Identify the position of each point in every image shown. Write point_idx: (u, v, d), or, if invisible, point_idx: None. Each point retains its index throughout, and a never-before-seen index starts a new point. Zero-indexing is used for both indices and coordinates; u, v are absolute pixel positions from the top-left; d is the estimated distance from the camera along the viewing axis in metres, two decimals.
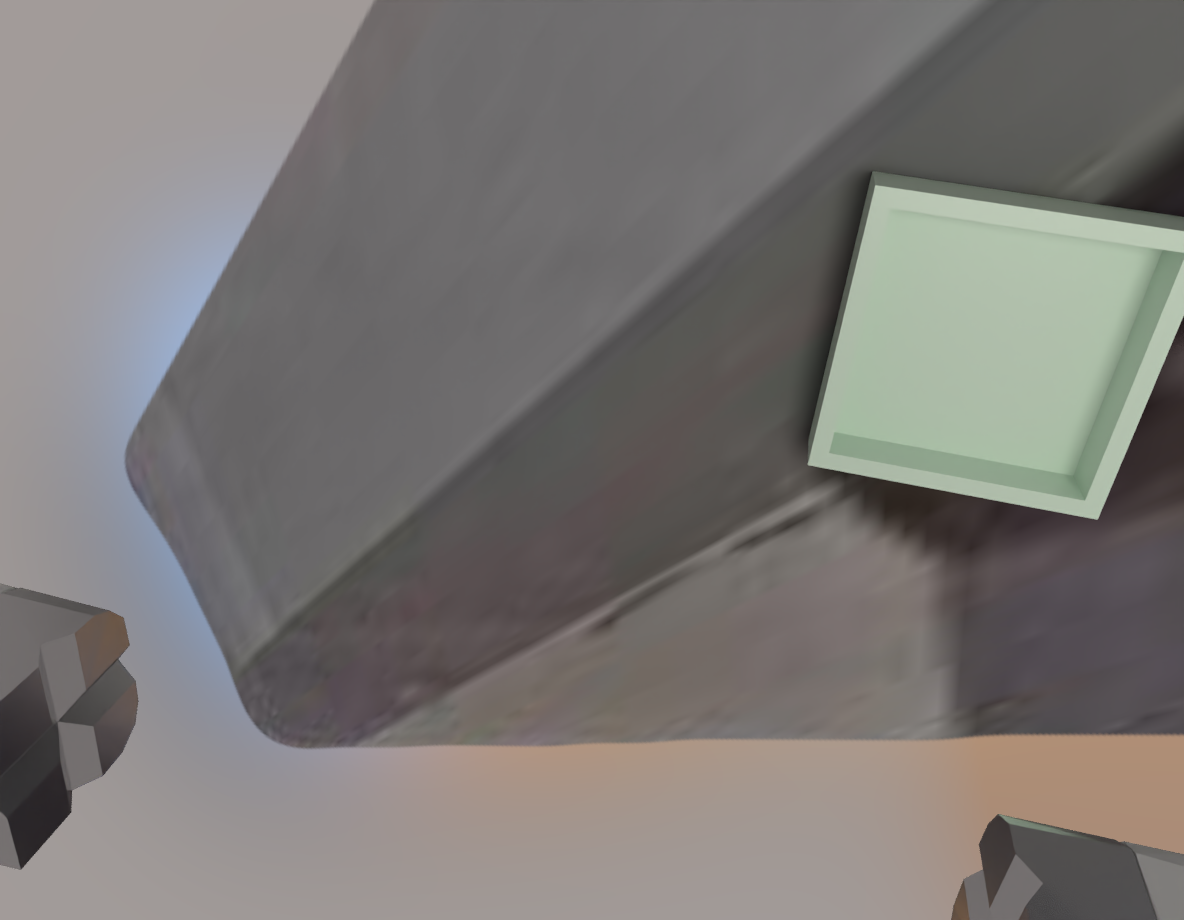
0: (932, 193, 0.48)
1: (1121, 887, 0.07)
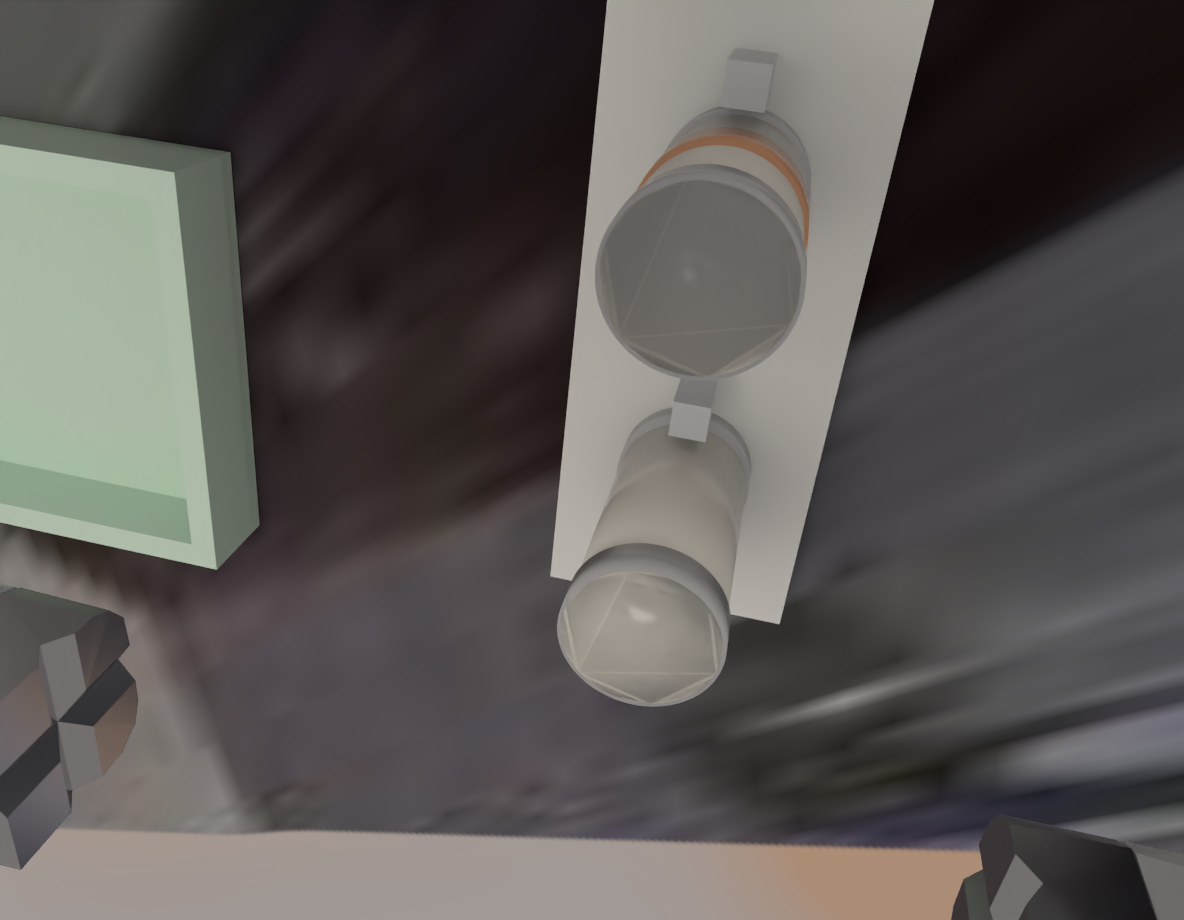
0: None
1: (1121, 887, 0.07)
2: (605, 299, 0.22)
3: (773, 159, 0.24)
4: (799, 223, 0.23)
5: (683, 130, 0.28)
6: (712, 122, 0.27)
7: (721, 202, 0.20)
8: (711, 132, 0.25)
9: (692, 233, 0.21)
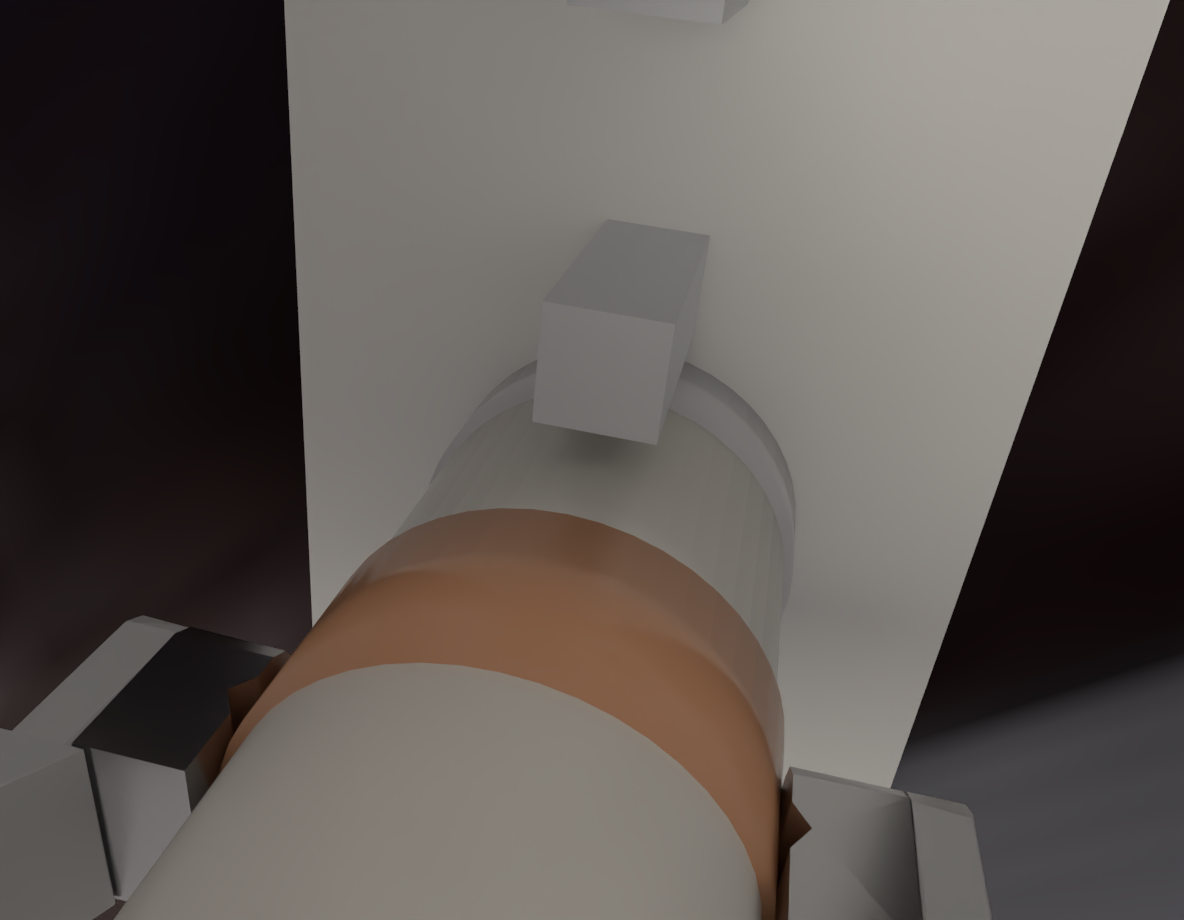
0: None
1: (889, 833, 0.08)
2: None
3: (650, 719, 0.07)
4: None
5: (477, 419, 0.11)
6: (529, 435, 0.10)
7: None
8: (474, 551, 0.08)
9: None
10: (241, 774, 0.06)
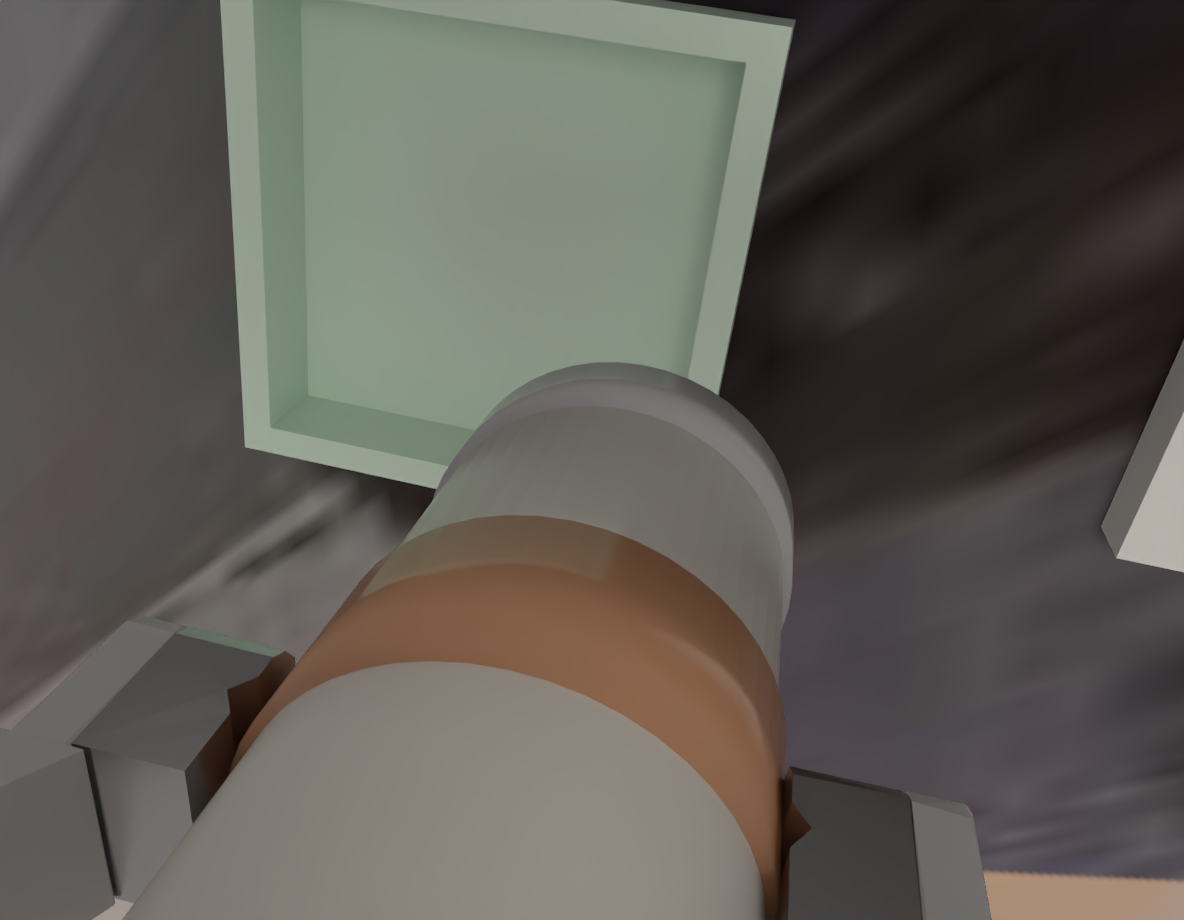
0: None
1: (888, 832, 0.08)
2: None
3: (656, 717, 0.07)
4: None
5: (481, 433, 0.12)
6: (533, 447, 0.10)
7: None
8: (482, 556, 0.08)
9: None
10: (254, 770, 0.07)
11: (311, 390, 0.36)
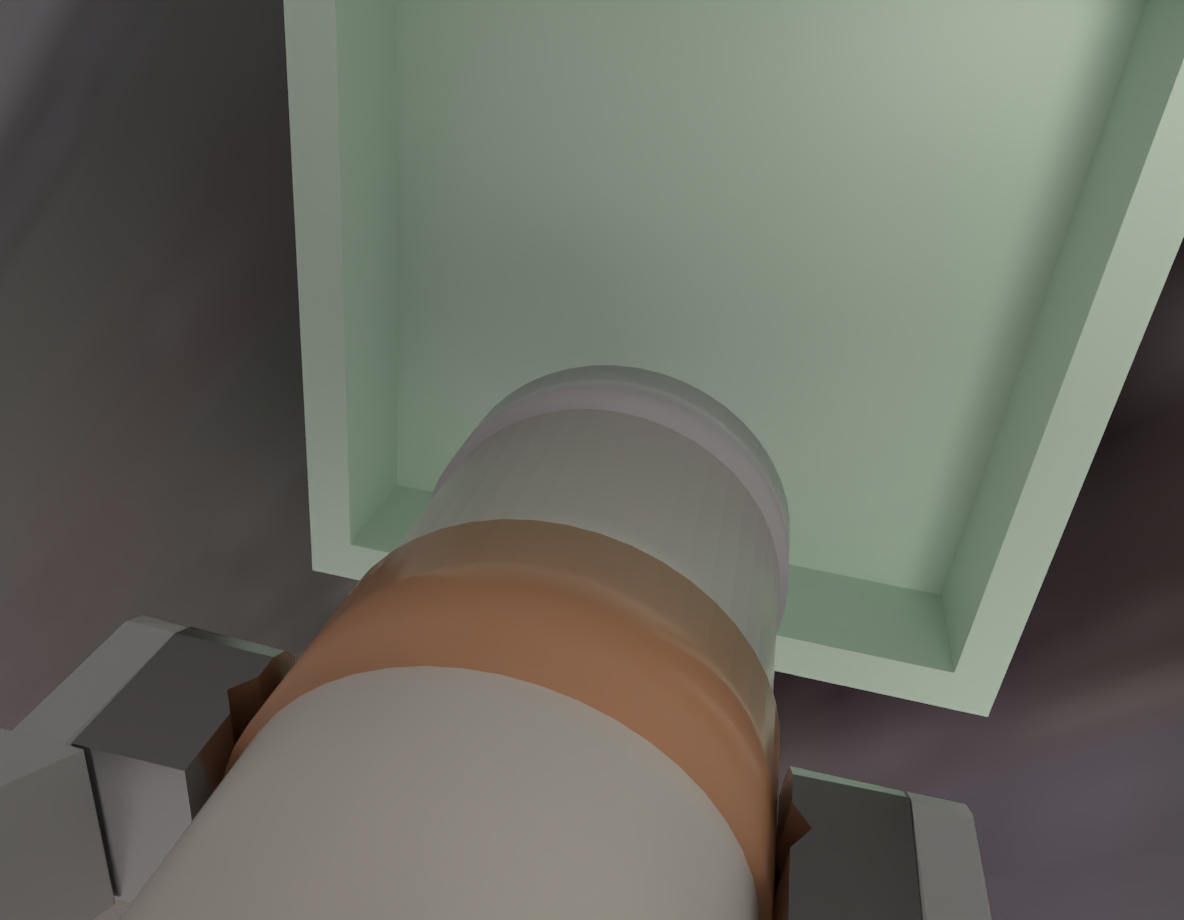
0: None
1: (889, 832, 0.08)
2: None
3: (649, 721, 0.07)
4: None
5: (478, 437, 0.12)
6: (528, 450, 0.10)
7: None
8: (476, 560, 0.08)
9: None
10: (247, 775, 0.07)
11: (401, 478, 0.25)
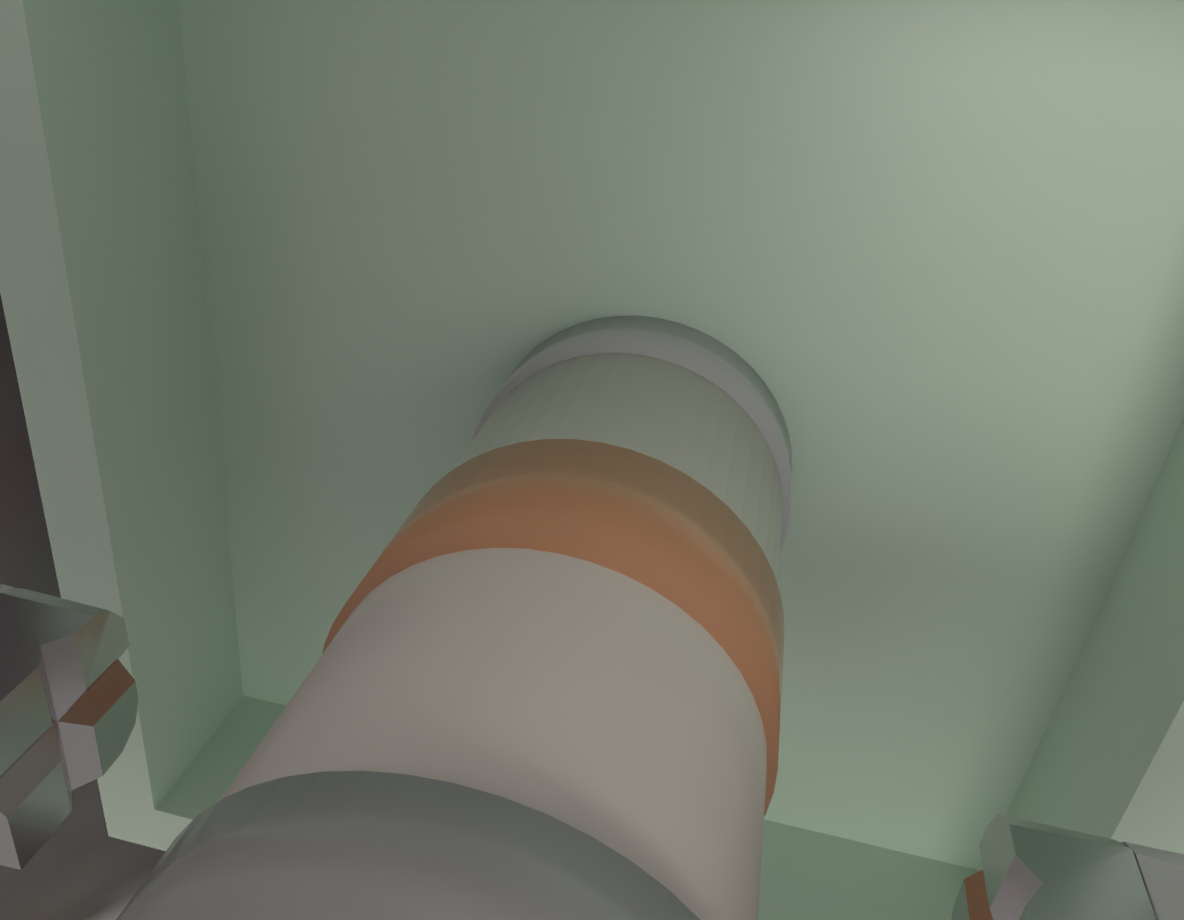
0: None
1: (1121, 887, 0.07)
2: None
3: (678, 590, 0.09)
4: (744, 850, 0.07)
5: (516, 378, 0.13)
6: (565, 386, 0.12)
7: None
8: (530, 470, 0.10)
9: None
10: (357, 631, 0.08)
11: (248, 688, 0.19)
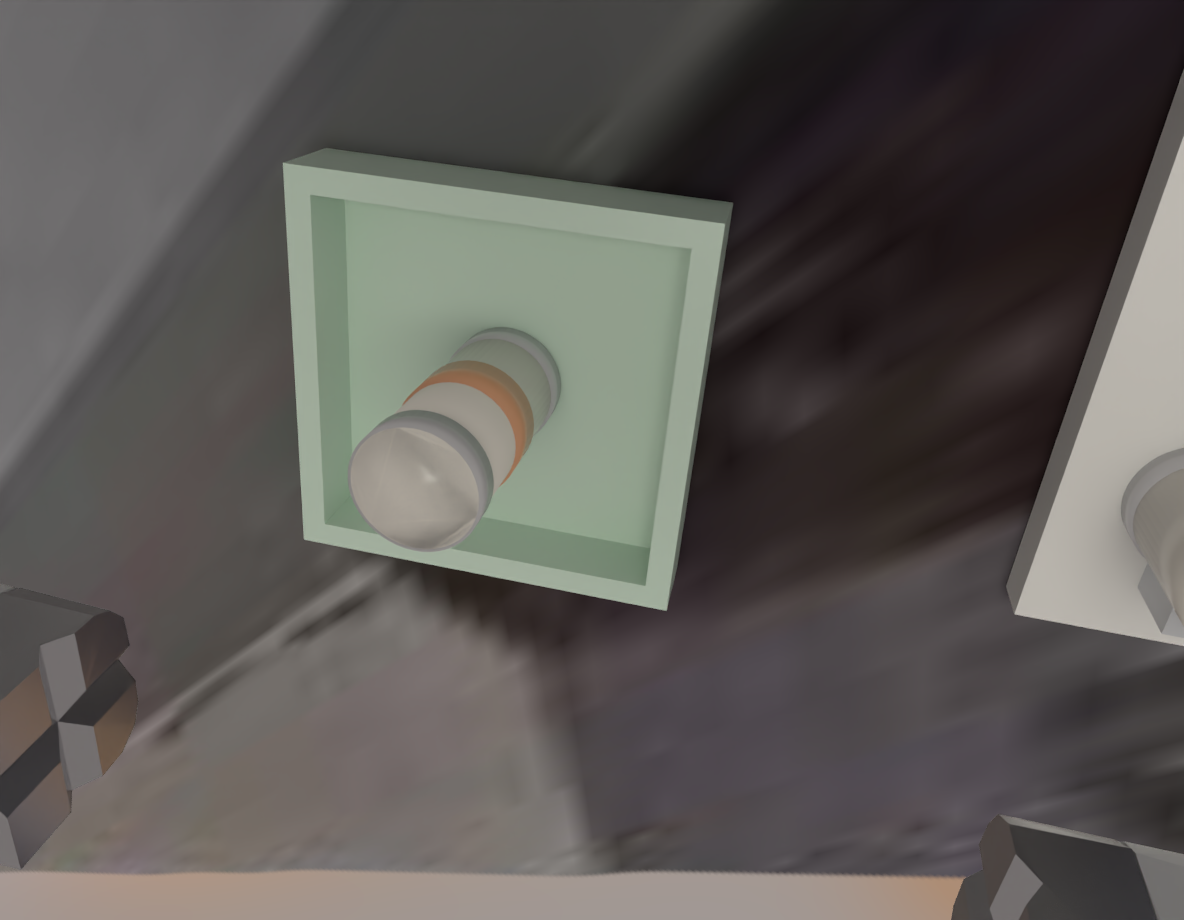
0: (357, 172, 0.35)
1: (1121, 887, 0.07)
2: (357, 499, 0.32)
3: (487, 391, 0.34)
4: (495, 441, 0.33)
5: (459, 349, 0.39)
6: (471, 348, 0.37)
7: (419, 441, 0.31)
8: (454, 367, 0.35)
9: (405, 459, 0.31)
10: (407, 401, 0.34)
11: None
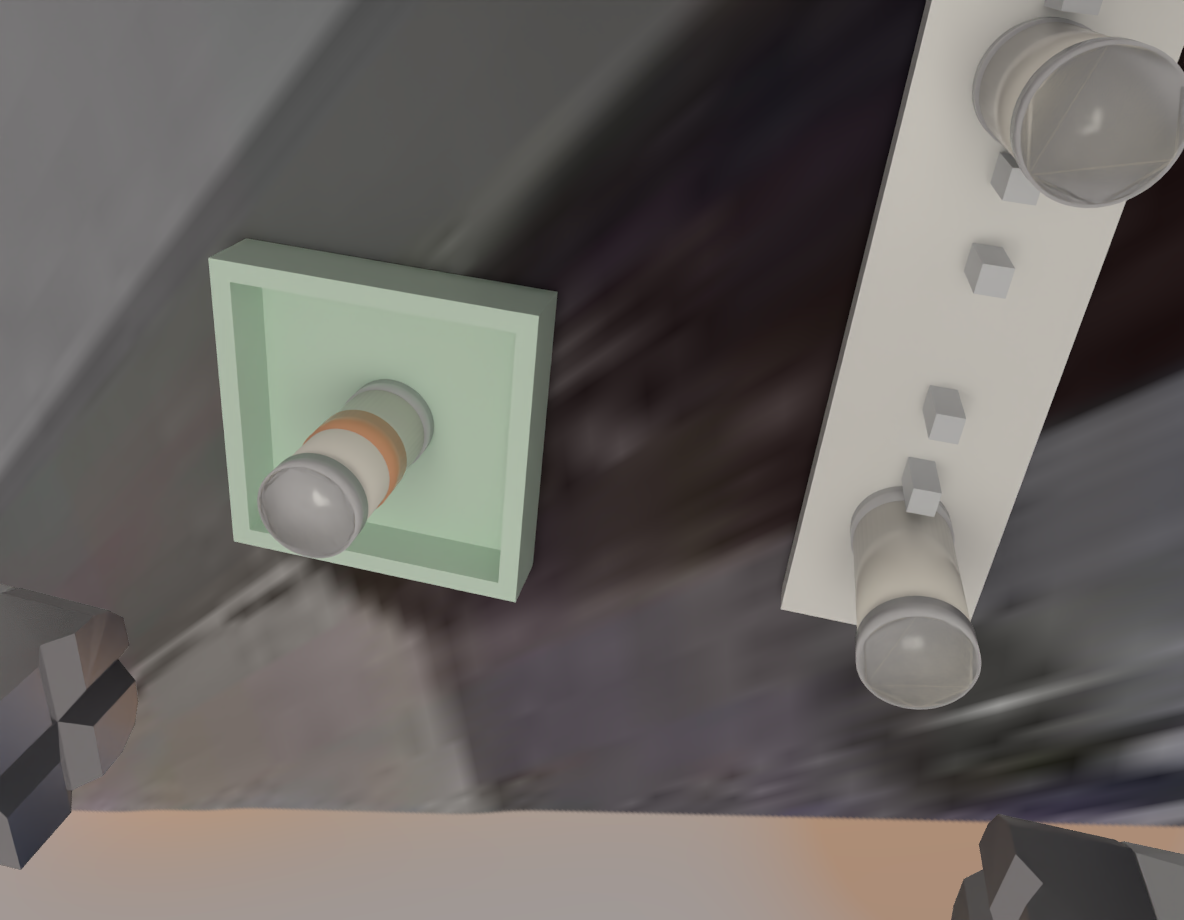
0: (265, 267, 0.45)
1: (1121, 887, 0.07)
2: (265, 520, 0.43)
3: (365, 435, 0.45)
4: (369, 473, 0.43)
5: (351, 397, 0.49)
6: (358, 398, 0.48)
7: (308, 476, 0.41)
8: (341, 415, 0.46)
9: (298, 490, 0.42)
10: (304, 444, 0.44)
11: None
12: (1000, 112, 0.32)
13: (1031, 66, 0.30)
